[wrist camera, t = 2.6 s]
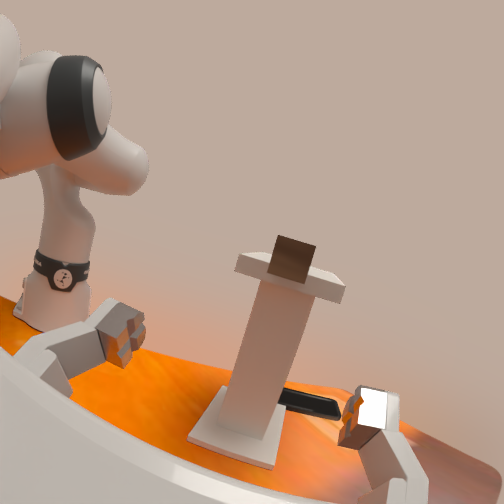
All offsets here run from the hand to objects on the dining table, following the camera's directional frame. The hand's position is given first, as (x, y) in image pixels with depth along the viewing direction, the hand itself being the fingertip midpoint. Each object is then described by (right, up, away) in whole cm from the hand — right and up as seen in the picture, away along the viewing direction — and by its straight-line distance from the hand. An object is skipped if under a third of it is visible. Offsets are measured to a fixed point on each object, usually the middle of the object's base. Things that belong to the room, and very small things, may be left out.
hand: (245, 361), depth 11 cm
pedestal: (-1, -23, +34) cm, 41 cm away
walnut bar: (+5, +2, +26) cm, 27 cm away
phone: (+10, -26, +46) cm, 54 cm away
